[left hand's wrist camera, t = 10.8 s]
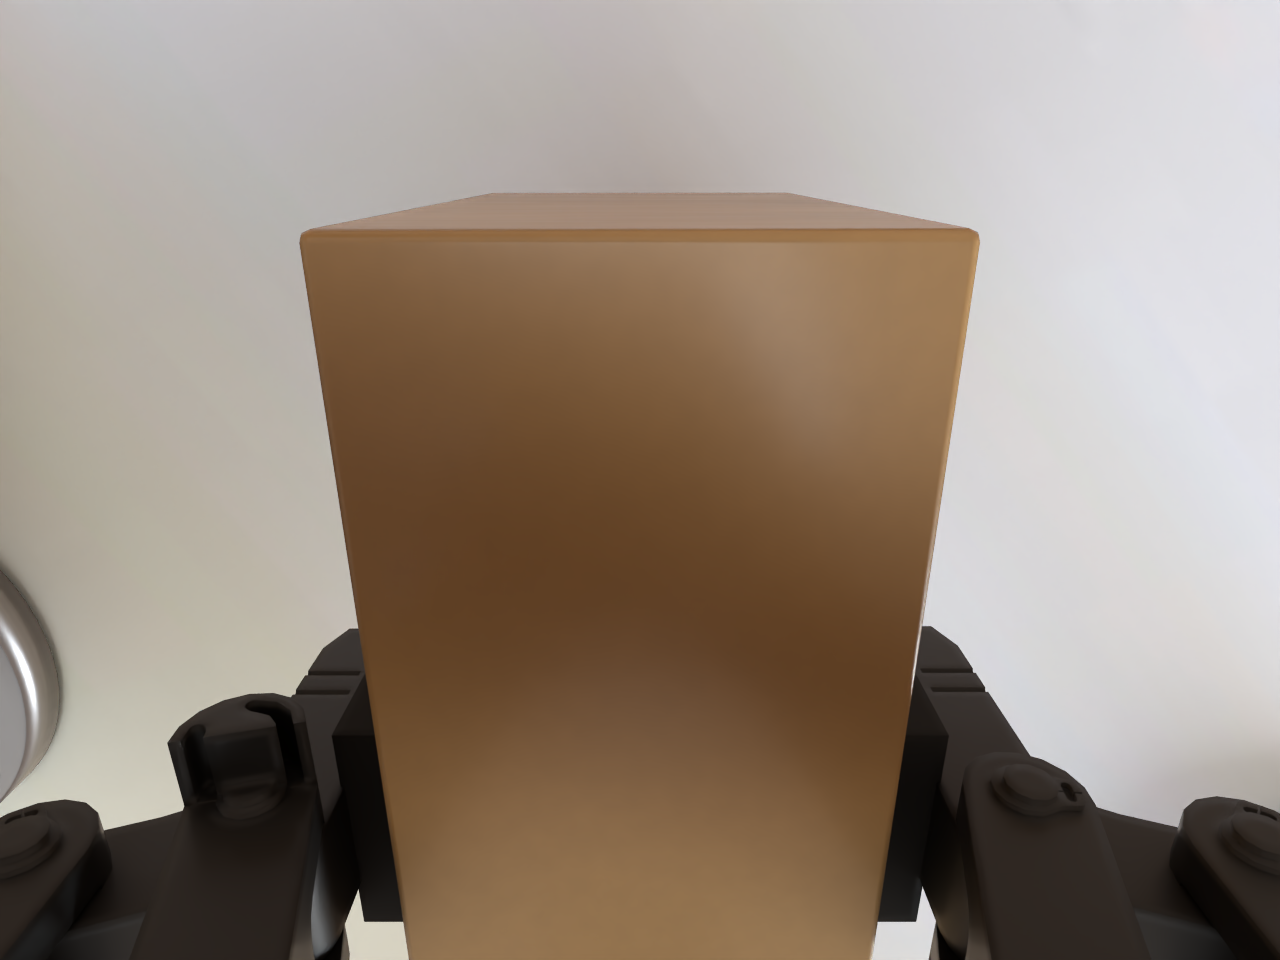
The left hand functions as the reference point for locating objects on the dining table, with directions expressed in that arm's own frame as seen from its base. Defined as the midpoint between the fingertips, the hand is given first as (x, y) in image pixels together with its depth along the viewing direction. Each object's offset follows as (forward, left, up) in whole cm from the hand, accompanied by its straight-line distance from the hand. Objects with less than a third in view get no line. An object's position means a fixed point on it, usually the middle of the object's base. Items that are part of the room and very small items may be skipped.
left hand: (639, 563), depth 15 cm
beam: (+20, 0, -1) cm, 20 cm away
